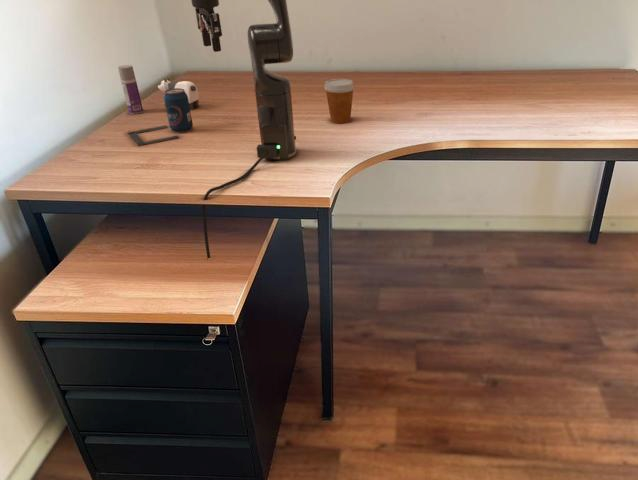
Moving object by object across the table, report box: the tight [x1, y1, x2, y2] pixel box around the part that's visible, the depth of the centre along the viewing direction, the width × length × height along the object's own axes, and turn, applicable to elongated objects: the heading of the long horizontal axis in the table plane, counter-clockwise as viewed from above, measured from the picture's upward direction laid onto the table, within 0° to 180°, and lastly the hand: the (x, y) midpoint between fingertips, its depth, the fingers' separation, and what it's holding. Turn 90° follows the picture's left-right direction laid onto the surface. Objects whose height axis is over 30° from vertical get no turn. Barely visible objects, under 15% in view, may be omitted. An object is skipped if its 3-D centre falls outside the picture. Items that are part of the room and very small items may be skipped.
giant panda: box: [157, 77, 200, 111], centre depth 189 cm, size 15×6×10 cm, turn 72°
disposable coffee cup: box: [323, 78, 355, 124], centre depth 173 cm, size 10×10×12 cm
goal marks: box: [127, 125, 180, 147], centre depth 166 cm, size 12×14×1 cm
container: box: [117, 64, 144, 115], centre depth 183 cm, size 5×5×15 cm
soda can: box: [163, 88, 194, 134], centre depth 167 cm, size 7×7×12 cm
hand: (212, 48), depth 163 cm, fingers open, 8 cm apart
